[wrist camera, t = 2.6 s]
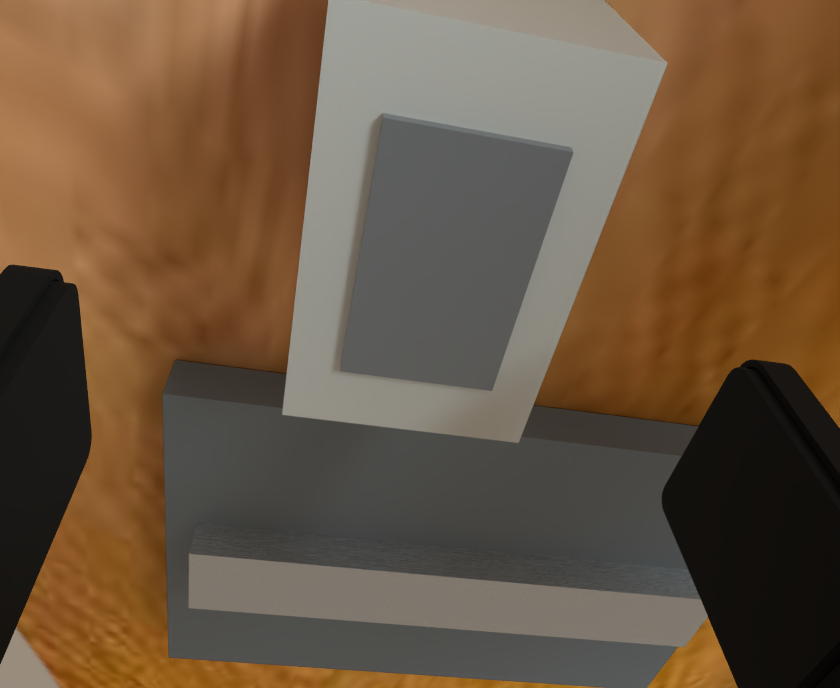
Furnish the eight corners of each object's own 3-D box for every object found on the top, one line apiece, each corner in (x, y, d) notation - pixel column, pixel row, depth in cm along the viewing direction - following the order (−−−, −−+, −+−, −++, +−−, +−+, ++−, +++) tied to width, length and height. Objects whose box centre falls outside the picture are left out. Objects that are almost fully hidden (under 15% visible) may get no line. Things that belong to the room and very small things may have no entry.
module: (581, -22, 15) (671, 67, 10) (488, 288, 20) (519, 449, 15) (348, -73, 15) (328, -3, 10) (308, 261, 19) (281, 421, 14)
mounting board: (790, 438, 24) (811, 471, 23) (635, 657, 32) (644, 690, 31) (175, 359, 21) (162, 393, 20) (177, 622, 30) (168, 657, 28)
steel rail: (707, 571, 26) (719, 601, 25) (674, 617, 28) (684, 647, 27) (197, 522, 23) (188, 553, 23) (196, 577, 25) (188, 608, 24)
